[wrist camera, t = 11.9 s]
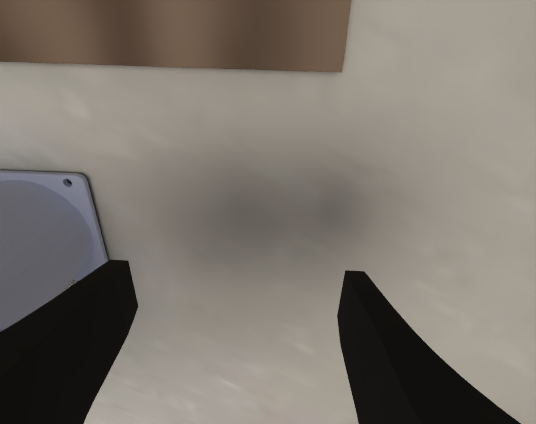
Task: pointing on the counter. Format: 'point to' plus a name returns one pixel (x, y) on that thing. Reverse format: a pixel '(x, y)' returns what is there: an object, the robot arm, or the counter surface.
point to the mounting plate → (177, 33)
